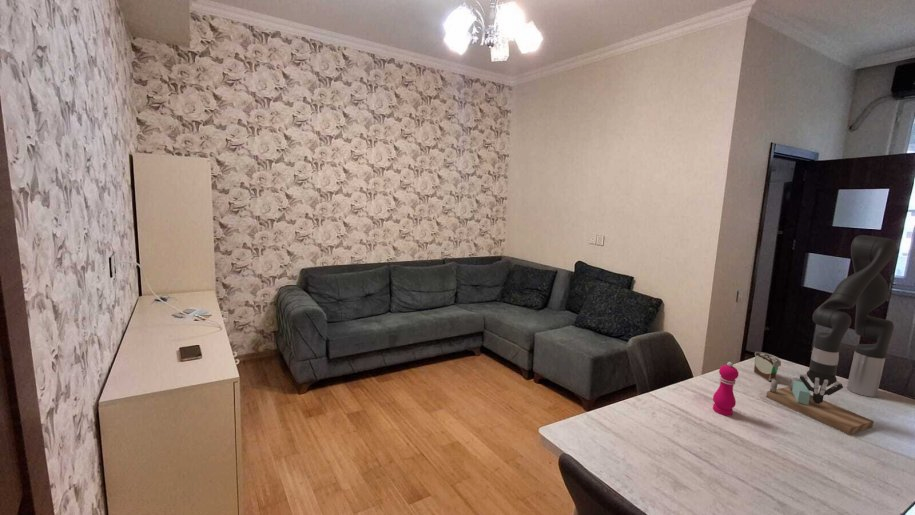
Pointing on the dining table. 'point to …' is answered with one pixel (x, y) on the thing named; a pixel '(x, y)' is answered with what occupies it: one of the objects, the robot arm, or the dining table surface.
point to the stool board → (821, 411)
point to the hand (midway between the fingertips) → (816, 402)
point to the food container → (766, 365)
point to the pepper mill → (725, 390)
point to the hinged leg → (800, 391)
